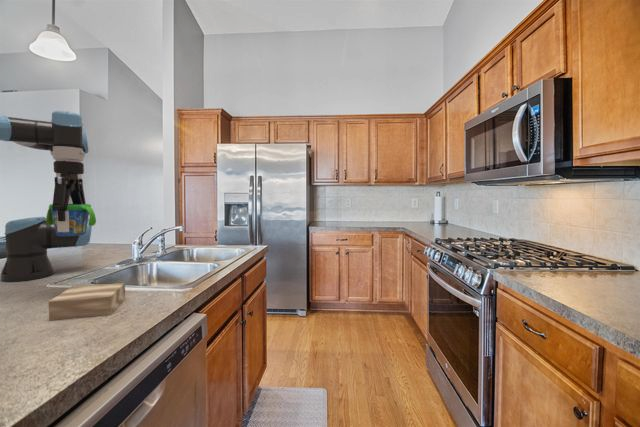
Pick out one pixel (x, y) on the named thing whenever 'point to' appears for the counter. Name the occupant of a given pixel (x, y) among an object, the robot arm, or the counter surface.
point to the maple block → (87, 301)
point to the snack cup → (73, 219)
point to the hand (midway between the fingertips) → (71, 229)
